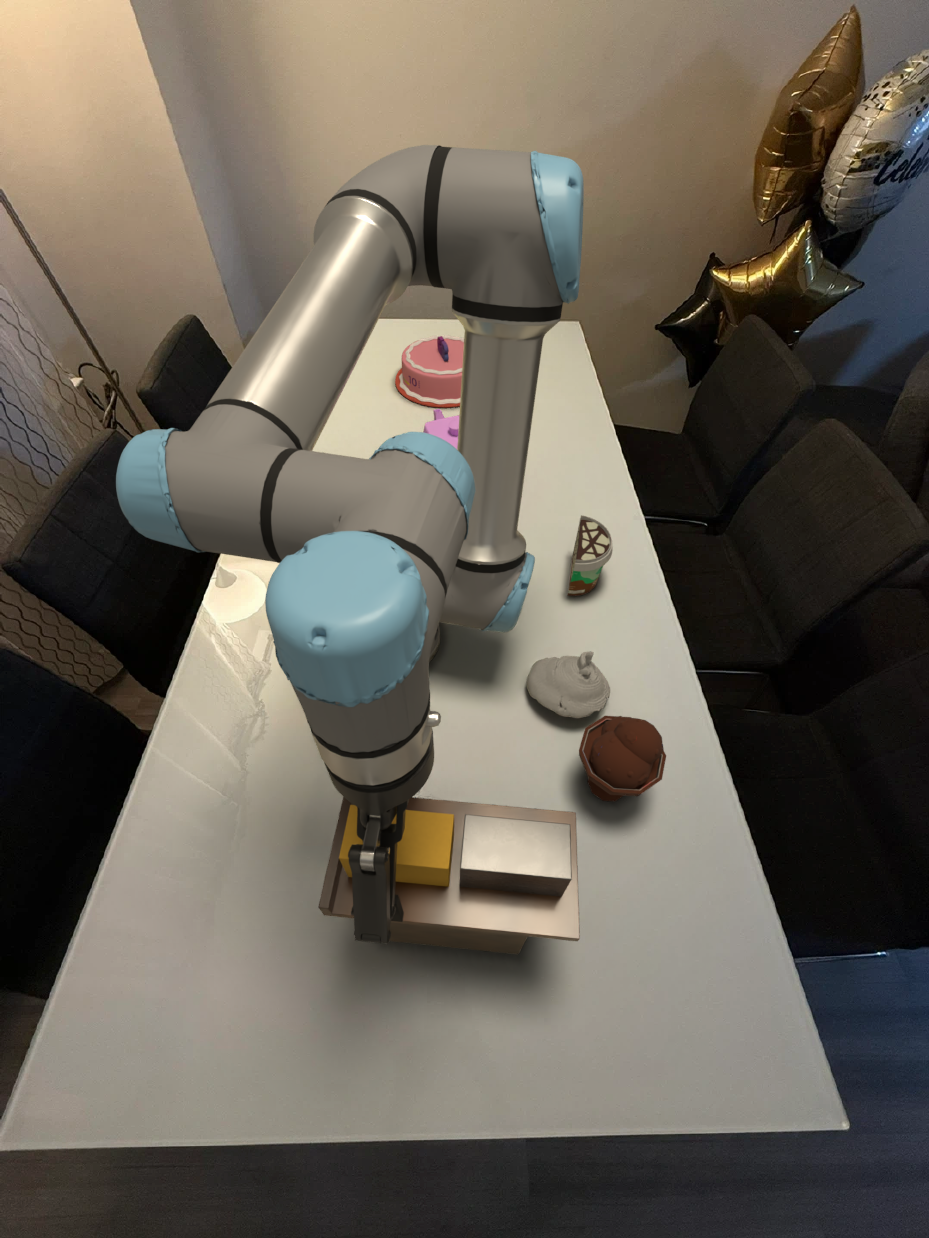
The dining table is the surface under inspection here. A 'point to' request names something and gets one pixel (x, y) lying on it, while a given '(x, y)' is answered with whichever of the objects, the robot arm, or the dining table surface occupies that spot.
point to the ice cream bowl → (621, 756)
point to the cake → (432, 371)
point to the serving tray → (482, 880)
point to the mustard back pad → (413, 847)
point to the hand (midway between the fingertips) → (400, 837)
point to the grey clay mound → (569, 685)
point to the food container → (588, 556)
